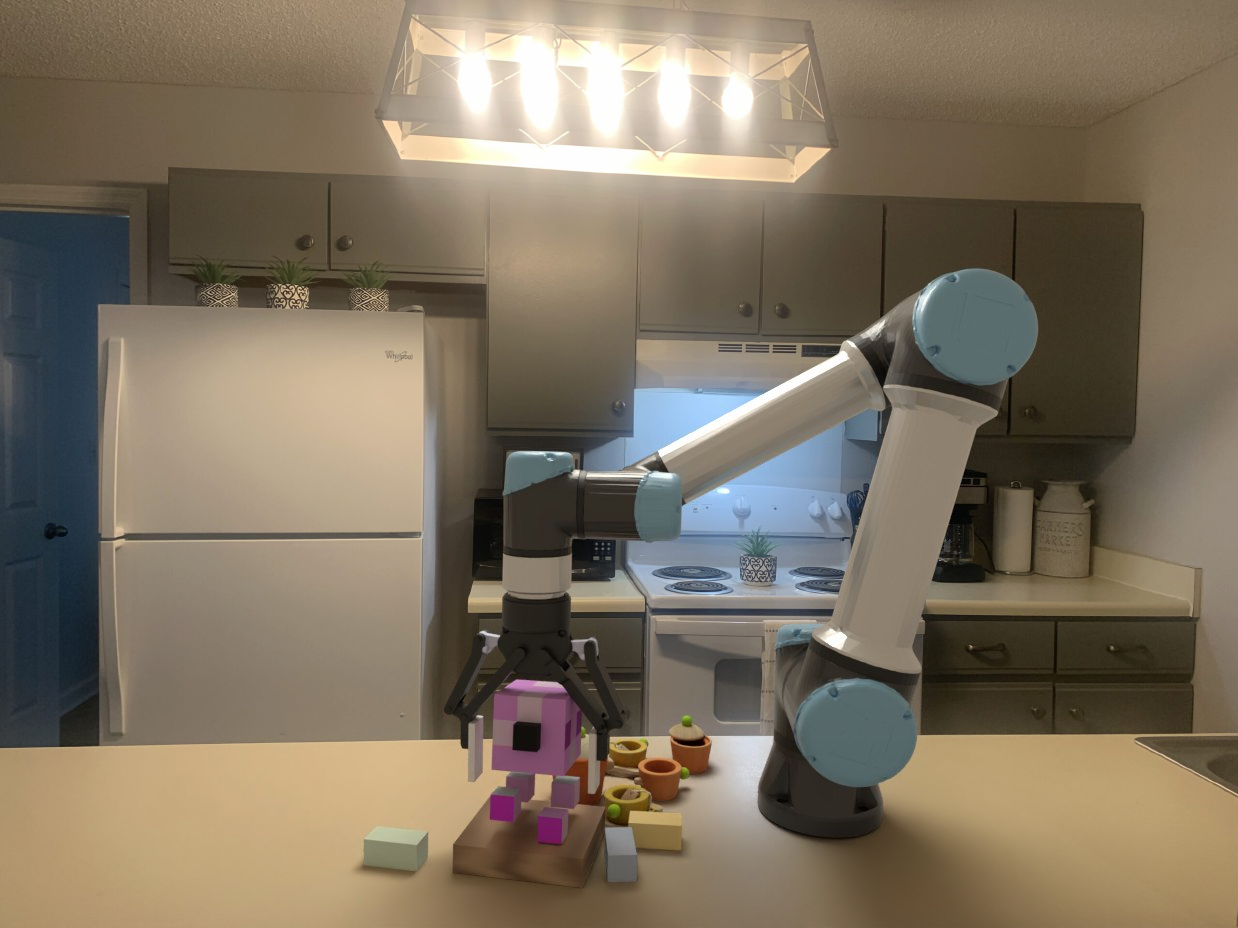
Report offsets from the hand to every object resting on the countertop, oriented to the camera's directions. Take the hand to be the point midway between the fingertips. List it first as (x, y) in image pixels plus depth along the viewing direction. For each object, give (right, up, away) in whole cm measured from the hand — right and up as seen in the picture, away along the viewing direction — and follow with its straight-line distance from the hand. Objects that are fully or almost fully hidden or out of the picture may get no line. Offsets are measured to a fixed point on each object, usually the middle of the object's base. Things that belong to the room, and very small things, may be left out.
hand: (533, 782), depth 91 cm
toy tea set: (+11, -8, +18) cm, 23 cm away
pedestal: (0, -8, 0) cm, 8 cm away
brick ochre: (+14, -8, +3) cm, 16 cm away
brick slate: (+9, -8, -2) cm, 13 cm away
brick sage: (-15, -8, -2) cm, 17 cm away
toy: (0, -5, 0) cm, 5 cm away
